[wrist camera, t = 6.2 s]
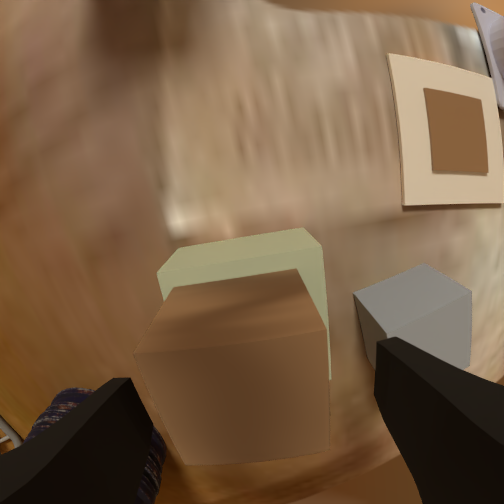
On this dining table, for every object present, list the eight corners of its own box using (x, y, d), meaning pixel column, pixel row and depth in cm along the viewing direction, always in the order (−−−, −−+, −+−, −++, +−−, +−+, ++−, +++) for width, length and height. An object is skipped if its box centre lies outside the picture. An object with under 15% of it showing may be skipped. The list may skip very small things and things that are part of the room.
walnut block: (296, 268, 11) (326, 329, 6) (307, 369, 12) (329, 450, 8) (173, 287, 11) (132, 353, 7) (201, 383, 12) (185, 464, 8)
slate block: (423, 262, 15) (471, 291, 11) (430, 327, 16) (469, 365, 12) (352, 292, 15) (386, 333, 11) (367, 357, 16) (395, 405, 12)
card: (489, 79, 12) (494, 77, 11) (500, 202, 14) (506, 203, 13) (386, 55, 12) (390, 51, 11) (402, 204, 14) (406, 205, 13)
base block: (302, 226, 14) (321, 246, 11) (314, 335, 16) (331, 379, 12) (179, 247, 15) (156, 272, 11) (205, 351, 16) (195, 398, 12)
